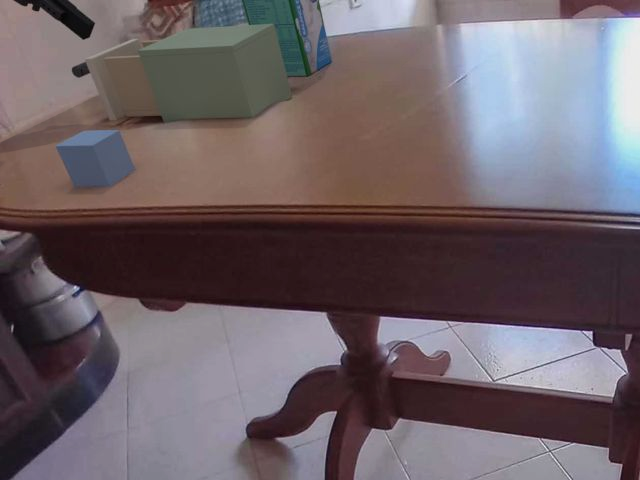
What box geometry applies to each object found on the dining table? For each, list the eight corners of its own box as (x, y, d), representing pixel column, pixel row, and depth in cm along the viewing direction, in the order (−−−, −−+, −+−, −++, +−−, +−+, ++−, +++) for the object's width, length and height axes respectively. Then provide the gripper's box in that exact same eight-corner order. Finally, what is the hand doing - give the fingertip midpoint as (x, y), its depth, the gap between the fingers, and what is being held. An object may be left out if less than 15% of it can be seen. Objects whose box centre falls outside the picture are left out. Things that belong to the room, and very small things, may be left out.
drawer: (81, 121, 106) (54, 60, 100) (127, 97, 114) (104, 40, 109) (189, 118, 102) (167, 54, 96) (228, 94, 110) (209, 34, 105)
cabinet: (165, 126, 102) (137, 50, 96) (209, 99, 112) (186, 28, 106) (255, 124, 99) (232, 45, 93) (292, 96, 109) (274, 23, 103)
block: (113, 194, 82) (92, 145, 79) (77, 194, 83) (54, 145, 80) (139, 177, 86) (119, 129, 83) (104, 177, 87) (83, 130, 84)
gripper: (-102, -114, 89) (66, 20, 95) (-23, -120, 100) (124, 1, 106) (-110, -63, 94) (51, 63, 100) (-33, -74, 104) (109, 40, 110)
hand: (89, 31), depth 103 cm, fingers closed
